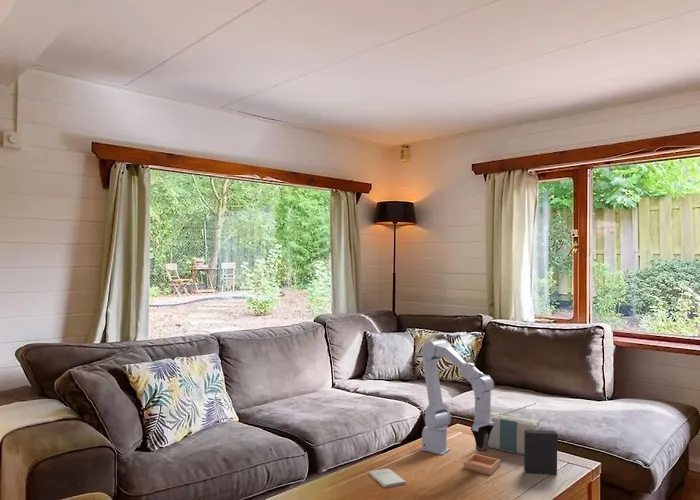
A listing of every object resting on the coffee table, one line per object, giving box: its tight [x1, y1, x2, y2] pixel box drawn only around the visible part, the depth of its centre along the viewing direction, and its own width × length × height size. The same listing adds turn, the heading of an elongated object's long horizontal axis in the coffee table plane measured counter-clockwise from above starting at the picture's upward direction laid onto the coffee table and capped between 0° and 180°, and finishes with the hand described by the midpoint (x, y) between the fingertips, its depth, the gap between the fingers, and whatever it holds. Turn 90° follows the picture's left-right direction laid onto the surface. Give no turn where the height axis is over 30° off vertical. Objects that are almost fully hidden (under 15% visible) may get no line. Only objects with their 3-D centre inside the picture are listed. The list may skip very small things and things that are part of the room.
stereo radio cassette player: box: [488, 402, 540, 456], centre depth 221 cm, size 21×8×20 cm, turn 55°
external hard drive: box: [368, 468, 407, 488], centre depth 192 cm, size 2×8×12 cm
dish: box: [463, 453, 501, 476], centre depth 203 cm, size 10×10×2 cm
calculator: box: [523, 429, 559, 476], centre depth 199 cm, size 11×4×15 cm, turn 84°
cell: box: [475, 432, 489, 453], centre depth 203 cm, size 4×4×7 cm
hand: (482, 445), depth 203 cm, fingers closed on cell, 4 cm apart
